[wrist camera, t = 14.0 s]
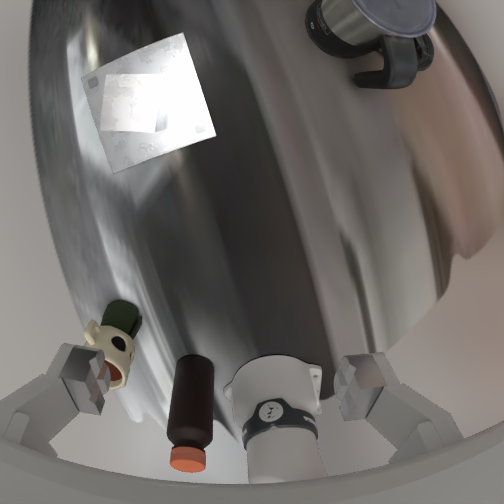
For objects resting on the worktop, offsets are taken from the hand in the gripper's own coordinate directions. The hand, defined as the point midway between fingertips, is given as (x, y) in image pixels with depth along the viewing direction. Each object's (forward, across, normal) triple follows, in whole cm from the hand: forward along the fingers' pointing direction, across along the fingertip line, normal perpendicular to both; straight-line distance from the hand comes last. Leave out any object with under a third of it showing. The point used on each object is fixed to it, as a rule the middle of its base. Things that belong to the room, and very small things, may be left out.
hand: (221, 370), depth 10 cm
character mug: (+31, +16, +23) cm, 42 cm away
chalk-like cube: (+31, +11, -9) cm, 34 cm away
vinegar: (+31, +5, +34) cm, 46 cm away
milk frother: (+31, -17, -21) cm, 41 cm away
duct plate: (+31, +11, -9) cm, 34 cm away
